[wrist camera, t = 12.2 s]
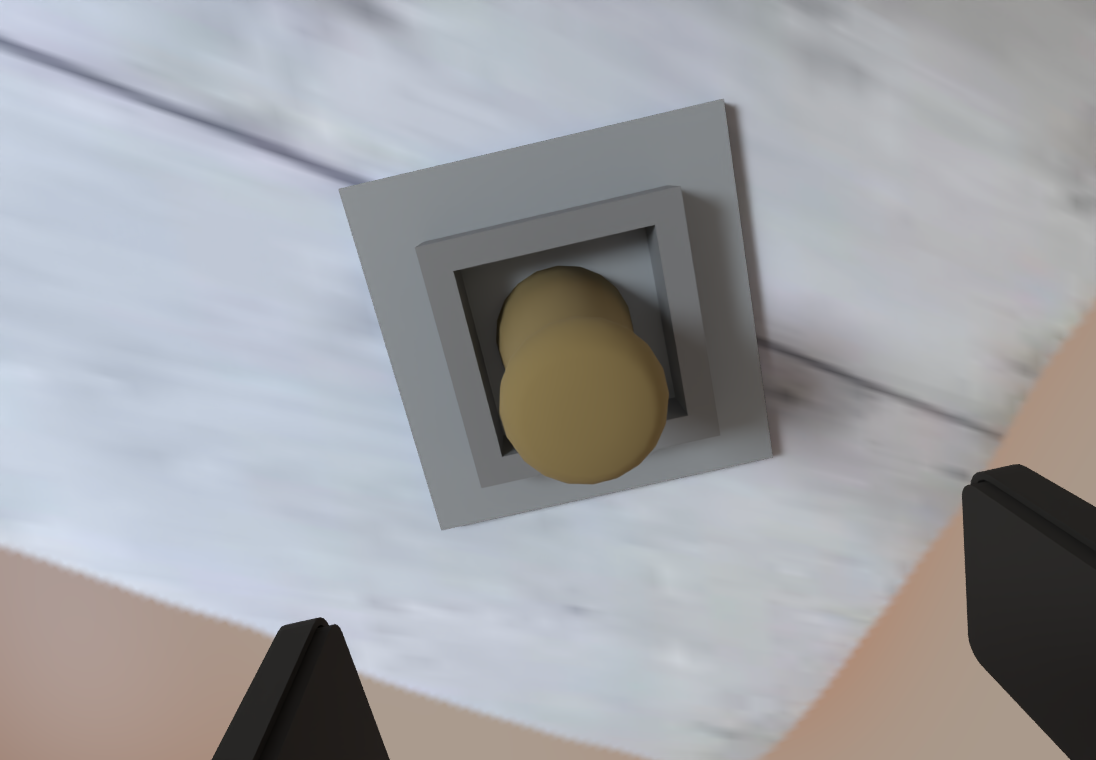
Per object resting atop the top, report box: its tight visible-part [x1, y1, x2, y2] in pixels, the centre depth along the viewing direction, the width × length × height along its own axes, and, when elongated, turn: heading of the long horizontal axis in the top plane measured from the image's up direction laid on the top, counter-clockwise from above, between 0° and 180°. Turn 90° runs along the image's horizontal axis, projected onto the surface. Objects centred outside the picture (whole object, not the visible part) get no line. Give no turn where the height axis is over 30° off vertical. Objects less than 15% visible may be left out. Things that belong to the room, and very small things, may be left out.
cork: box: [496, 266, 669, 485], centre depth 25 cm, size 6×6×11 cm
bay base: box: [339, 99, 773, 530], centre depth 29 cm, size 16×16×3 cm
